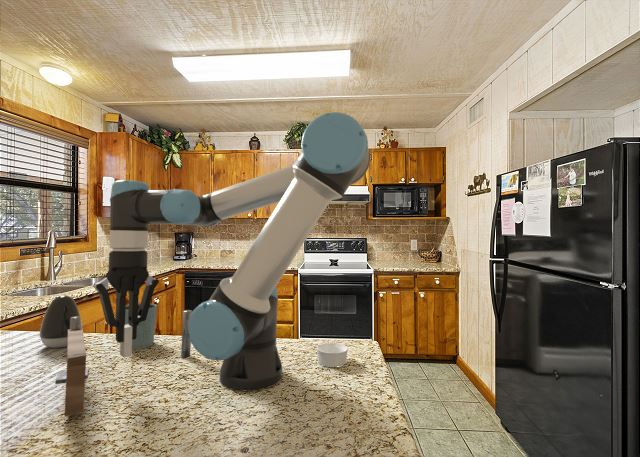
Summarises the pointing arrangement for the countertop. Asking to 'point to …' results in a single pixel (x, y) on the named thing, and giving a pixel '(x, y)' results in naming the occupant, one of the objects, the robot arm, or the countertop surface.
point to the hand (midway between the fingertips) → (125, 355)
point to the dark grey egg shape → (58, 322)
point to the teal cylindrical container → (144, 328)
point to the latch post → (186, 335)
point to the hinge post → (63, 374)
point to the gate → (75, 372)
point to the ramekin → (332, 354)
